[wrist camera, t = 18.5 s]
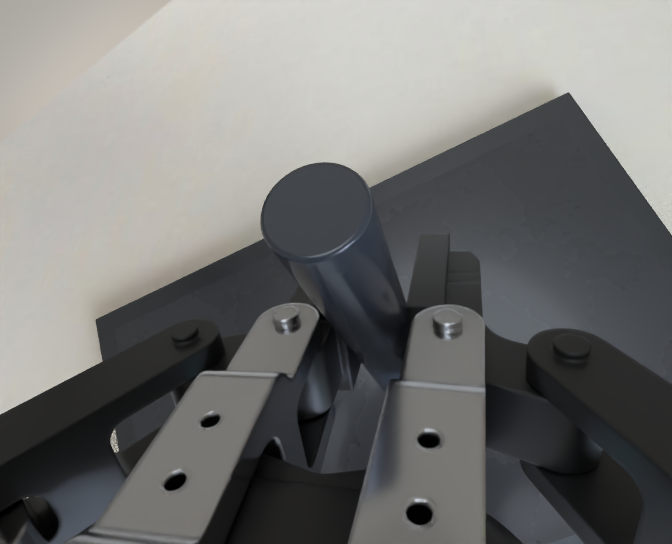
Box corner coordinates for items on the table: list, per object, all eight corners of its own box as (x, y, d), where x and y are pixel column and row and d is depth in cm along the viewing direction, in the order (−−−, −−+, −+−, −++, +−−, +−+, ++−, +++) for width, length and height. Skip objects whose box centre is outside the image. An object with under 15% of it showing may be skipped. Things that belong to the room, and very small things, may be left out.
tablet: (178, 701, 18) (164, 715, 17) (106, 322, 24) (93, 319, 23) (829, 475, 15) (850, 479, 14) (565, 102, 21) (569, 89, 20)
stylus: (407, 430, 18) (267, 276, 5) (397, 393, 18) (251, 181, 6) (444, 420, 17) (385, 239, 5) (432, 384, 18) (356, 144, 6)
